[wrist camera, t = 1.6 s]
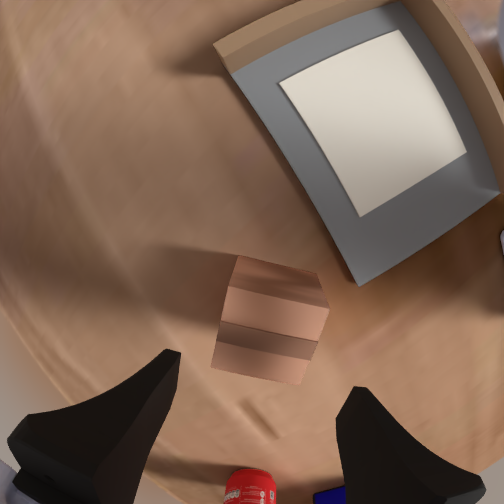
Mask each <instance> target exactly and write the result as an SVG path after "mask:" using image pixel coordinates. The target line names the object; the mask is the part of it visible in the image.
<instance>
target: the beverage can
mask: <svg viewBox="0 0 504 504" xmlns="http://www.w3.org/2000/svg"><path fill="white" fill-rule="evenodd" d="M224 504H276V484H275V482H274V481H273V479H272V476H271V474H270V473H268V472H266V471H264V470H260V469H254V468H245V469H240V470H237V471H235V472H233V473H232V475H231V477H230V478H229V480H228V481H227V484H226V490H225V497H224Z"/></svg>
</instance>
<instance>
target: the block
mask: <svg viewBox="0 0 504 504" xmlns="http://www.w3.org/2000/svg"><path fill="white" fill-rule="evenodd" d="M329 311H330V308H329V305H328V302H327V300H326V297H325V295H324V292H323V289H322V287H321V284H320V282H319V279H318V277H317V274H316V273H311V272H307V271H303V270H299V269H295V268H290V267H286V266H282V265H278V264H273V263H269V262H265V261H261V260H257V259H253V258H248V257H244V256H240V255H238V258H237V261H236V264H235V267H234V270H233V273H232V276H231V279H230V282H229V285H228V289H227V294H226V298H225V303H224V307H223V312H222V316H221V321H220V325H219V330H218V335H217V339H216V344H215V349H214V354H213V358H212V363H211V368H215V369H220V370H224V371H228V372H232V373H237V374H241V375H246V376H251V377H256V378H261V379H266V380H271V381H276V382H282V383H288V384H294V385H300V383H301V380H302V378H303V376H304V373H305V371H306V369H307V366H308V364H309V362H310V361H311V358H312V356H313V353H314V351H315V349H316V346H317V344H318V339H319V337H320V334H321V332H322V329H323V326H324V324H325V321H326V319H327V316H328V313H329Z"/></svg>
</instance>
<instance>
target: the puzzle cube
mask: <svg viewBox="0 0 504 504" xmlns="http://www.w3.org/2000/svg"><path fill="white" fill-rule="evenodd" d="M313 504H346V494H345V486H342V487H338V488H335V489H331V490H327V491H323V492H319V493H315V494H314V495H313Z"/></svg>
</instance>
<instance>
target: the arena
mask: <svg viewBox="0 0 504 504" xmlns="http://www.w3.org/2000/svg"><path fill="white" fill-rule="evenodd" d="M213 46H214V48H215V50H216V52H217V54H218V56H219V58H220V60H221V62H222V64H223V66H224V67H225V68H226V70H227V71H228V72H229V74H230V75H231V77H232V78H233V79H234V81H235V82H236V84H237V85H238V86H239V88H240V89H241V91H242V92H243V94H244V95H245V97H246V98H247V99H248V101H249V102H250V104H251V105H252V107H253V108H254V110H255V111H256V113H257V114H258V116H259V117H260V119H261V120H262V122H263V123H264V125H265V126H266V128H267V129H268V131H269V132H270V134H271V136H272V137H273V139H274V140H275V142H276V143H277V145H278V146H279V148H280V150H281V151H282V153H283V154H284V156H285V158H286V159H287V161H288V162H289V164H290V166H291V167H292V169H293V171H294V172H295V174H296V176H297V177H298V179H299V180H300V182H301V184H302V186H303V187H304V189H305V191H306V192H307V194H308V196H309V197H310V199H311V201H312V203H313V204H314V206H315V208H316V209H317V211H318V213H319V215H320V217H321V218H322V220H323V222H324V224H325V225H326V227H327V229H328V231H329V233H330V234H331V236H332V238H333V240H334V242H335V244H336V245H337V247H338V249H339V251H340V253H341V255H342V257H343V259H344V260H345V262H346V264H347V266H348V268H349V270H350V272H351V274H352V276H353V278H354V280H355V282H356V284H357V285H358V287H360V286H362V285H363V284H365V283H367V282H368V281H370V280H372V279H374V278H375V277H377V276H379V275H380V274H382V273H384V272H385V271H387V270H388V269H390V268H392V267H393V266H395V265H397V264H398V263H400V262H401V261H403V260H405V259H406V258H408V257H409V256H411V255H412V254H414V253H416V252H417V251H419V250H420V249H422V248H423V247H425V246H426V245H428V244H429V243H431V242H432V241H434V240H435V239H437V238H438V237H440V236H441V235H443V234H444V233H446V232H447V231H449V230H450V229H452V228H453V227H454V226H456V225H457V224H459V223H460V222H462V221H463V220H464V219H466V218H467V217H469V216H470V215H471V214H473V213H474V212H475V211H477V210H478V209H480V208H481V207H482V206H484V205H485V204H486V203H488V202H489V201H490V200H492V199H493V198H494V197H496V196H497V195H498V194H500V193H504V101H503V99H502V96H501V94H500V92H499V90H498V88H497V86H496V84H495V82H494V80H493V78H492V76H491V74H490V72H489V70H488V68H487V66H486V64H485V62H484V61H483V59H482V57H481V55H480V54H479V52H478V50H477V48H476V47H475V45H474V43H473V42H472V40H471V39H470V37H469V35H468V34H467V32H466V31H465V29H464V28H463V26H462V25H461V23H460V22H459V20H458V19H457V17H456V16H455V15H454V13H453V12H452V10H451V9H450V8H449V6H448V5H447V4H446V2H445V1H444V0H301V1H299V2H296V3H294V4H291V5H289V6H287V7H284V8H282V9H280V10H277V11H275V12H273V13H271V14H269V15H267V16H264V17H262V18H260V19H258V20H256V21H254V22H252V23H250V24H248V25H246V26H244V27H242V28H240V29H239V30H237V31H235V32H233V33H231V34H229V35H227V36H226V37H224V38H222V39H220V40H219V41H217V42H215V43H214V44H213Z"/></svg>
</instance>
